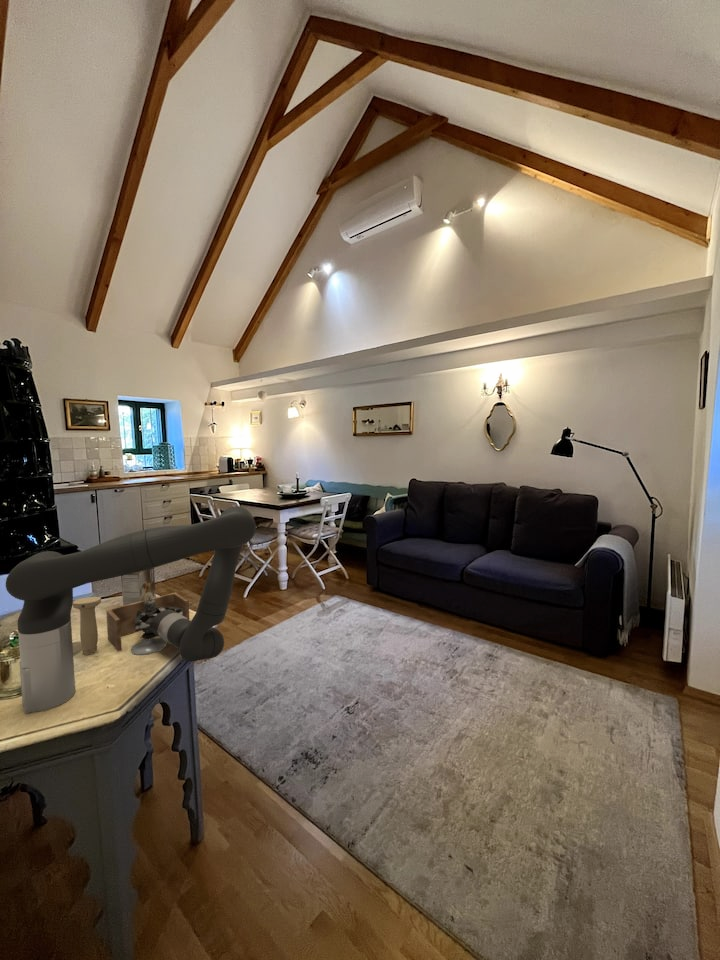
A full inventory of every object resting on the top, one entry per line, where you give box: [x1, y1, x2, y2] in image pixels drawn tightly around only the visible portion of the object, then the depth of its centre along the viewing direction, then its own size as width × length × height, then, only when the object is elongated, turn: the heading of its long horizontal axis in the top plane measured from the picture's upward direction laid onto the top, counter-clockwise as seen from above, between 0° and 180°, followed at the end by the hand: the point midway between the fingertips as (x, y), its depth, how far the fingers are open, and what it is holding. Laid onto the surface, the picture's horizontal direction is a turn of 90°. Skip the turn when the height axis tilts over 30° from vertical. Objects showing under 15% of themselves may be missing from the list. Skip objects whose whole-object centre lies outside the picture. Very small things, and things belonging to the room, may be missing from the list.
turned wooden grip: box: [72, 596, 102, 656], centre depth 108 cm, size 5×6×15 cm
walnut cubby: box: [105, 591, 190, 652], centre depth 120 cm, size 20×10×9 cm, turn 135°
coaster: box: [130, 637, 167, 656], centre depth 112 cm, size 9×9×1 cm
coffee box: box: [120, 568, 157, 606], centre depth 134 cm, size 9×6×16 cm
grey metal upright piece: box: [141, 596, 158, 640], centre depth 119 cm, size 6×6×12 cm
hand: (146, 611), depth 121 cm, fingers closed on grey metal upright piece, 3 cm apart
